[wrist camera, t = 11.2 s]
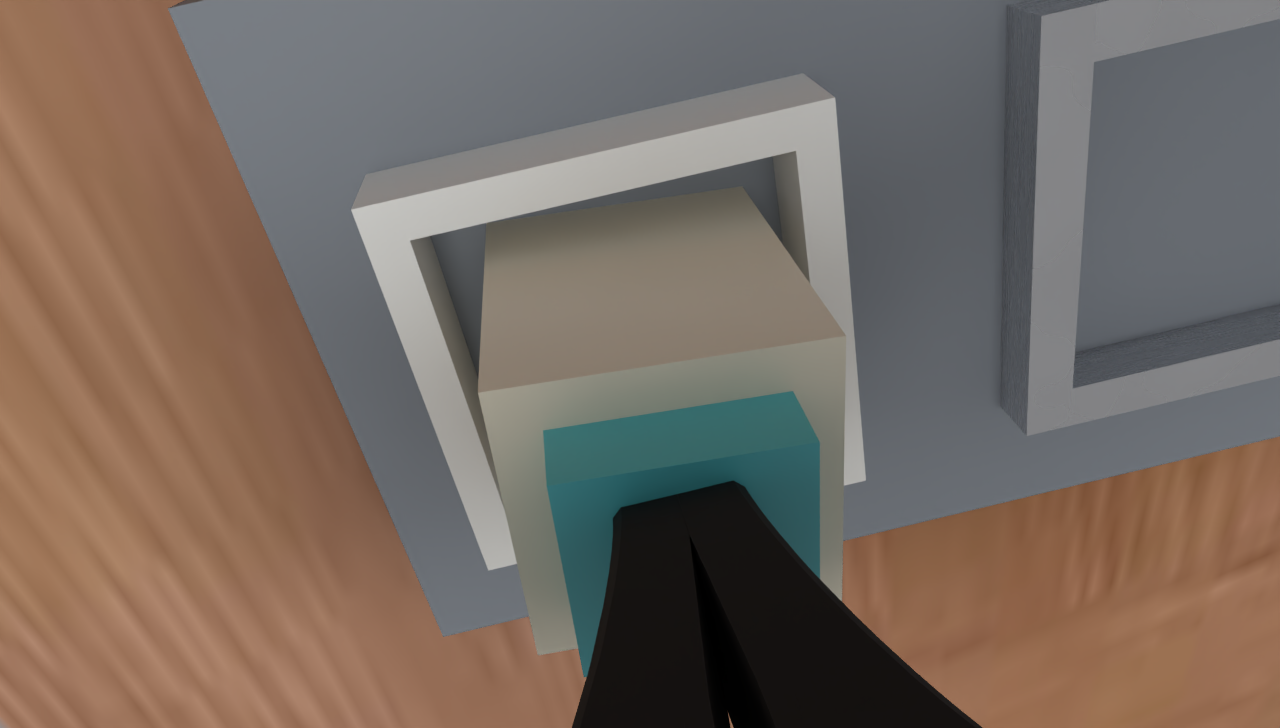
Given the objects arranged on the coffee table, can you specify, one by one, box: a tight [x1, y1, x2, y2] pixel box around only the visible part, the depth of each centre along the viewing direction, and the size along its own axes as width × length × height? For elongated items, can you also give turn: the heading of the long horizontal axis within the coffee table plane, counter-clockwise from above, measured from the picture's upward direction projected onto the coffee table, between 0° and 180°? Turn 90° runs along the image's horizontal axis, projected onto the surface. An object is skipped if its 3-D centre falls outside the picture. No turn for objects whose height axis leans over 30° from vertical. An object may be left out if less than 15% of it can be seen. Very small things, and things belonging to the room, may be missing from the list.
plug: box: [478, 186, 846, 677], centre depth 12 cm, size 4×4×6 cm
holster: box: [1000, 0, 1280, 436], centre depth 15 cm, size 7×7×1 cm
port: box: [351, 73, 866, 571], centre depth 14 cm, size 7×7×2 cm
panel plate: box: [168, 0, 1280, 637], centre depth 15 cm, size 20×12×1 cm, turn 101°
